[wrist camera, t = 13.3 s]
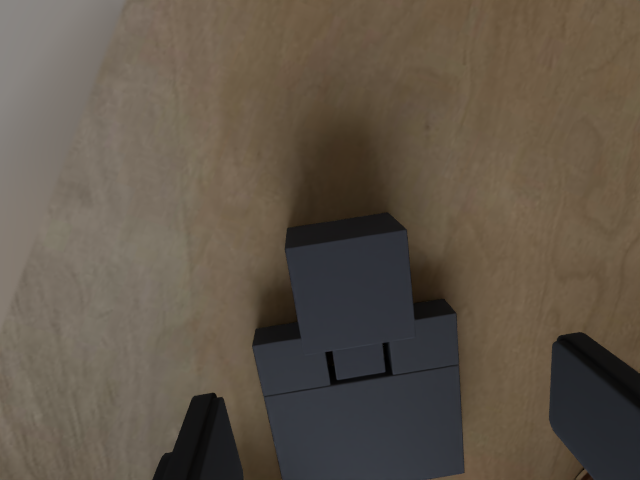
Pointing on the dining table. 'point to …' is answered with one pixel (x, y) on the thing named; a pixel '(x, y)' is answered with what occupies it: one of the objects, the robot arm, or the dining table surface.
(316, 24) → the dining table surface
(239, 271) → the dining table surface
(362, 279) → the pad
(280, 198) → the dining table surface
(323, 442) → the base pad
